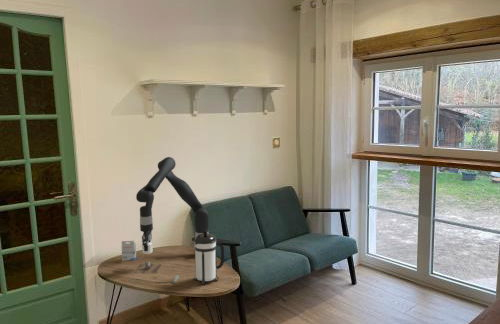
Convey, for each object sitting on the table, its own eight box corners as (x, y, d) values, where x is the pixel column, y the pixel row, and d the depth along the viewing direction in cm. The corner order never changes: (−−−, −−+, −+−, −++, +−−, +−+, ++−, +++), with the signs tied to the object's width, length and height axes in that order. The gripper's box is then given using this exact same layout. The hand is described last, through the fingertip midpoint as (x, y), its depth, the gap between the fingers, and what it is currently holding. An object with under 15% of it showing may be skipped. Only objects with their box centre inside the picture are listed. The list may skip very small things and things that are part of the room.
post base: (161, 266, 241) (161, 258, 241) (156, 275, 227) (156, 266, 227) (140, 266, 241) (139, 258, 240) (133, 275, 227) (133, 266, 227)
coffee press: (216, 286, 211) (215, 235, 208) (189, 284, 215) (188, 233, 211) (224, 274, 228) (223, 226, 225) (199, 272, 231) (198, 225, 228)
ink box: (136, 259, 254) (135, 238, 252) (135, 262, 249) (134, 240, 247) (123, 259, 253) (122, 238, 251) (122, 262, 248) (121, 241, 247)
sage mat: (178, 275, 226) (178, 275, 226) (175, 283, 216) (175, 282, 216) (159, 276, 226) (159, 275, 226) (155, 283, 216) (155, 282, 216)
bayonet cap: (144, 250, 236) (143, 241, 235) (153, 250, 236) (153, 241, 235) (141, 253, 230) (141, 244, 229) (151, 253, 230) (150, 244, 229)
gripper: (143, 219, 238) (144, 245, 239) (136, 226, 223) (138, 253, 225) (155, 219, 238) (156, 245, 240) (149, 225, 223) (150, 253, 225)
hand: (147, 249), depth 232 cm, fingers closed on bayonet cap, 6 cm apart
